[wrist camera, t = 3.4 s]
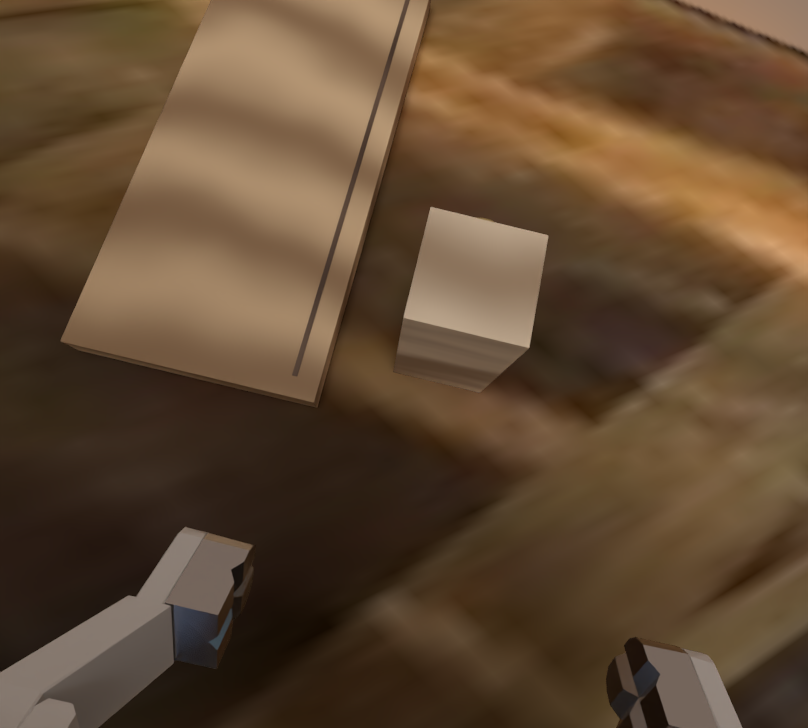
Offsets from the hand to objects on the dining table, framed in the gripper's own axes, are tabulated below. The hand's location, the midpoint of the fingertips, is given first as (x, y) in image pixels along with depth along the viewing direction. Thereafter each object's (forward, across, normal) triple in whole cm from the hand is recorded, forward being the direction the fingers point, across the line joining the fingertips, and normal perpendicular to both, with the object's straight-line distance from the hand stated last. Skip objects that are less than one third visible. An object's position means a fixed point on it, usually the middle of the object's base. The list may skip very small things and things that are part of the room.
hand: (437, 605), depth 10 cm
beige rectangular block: (+16, 0, +2) cm, 16 cm away
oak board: (+22, +12, -4) cm, 25 cm away
